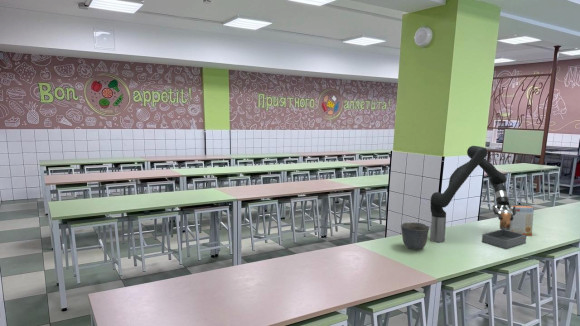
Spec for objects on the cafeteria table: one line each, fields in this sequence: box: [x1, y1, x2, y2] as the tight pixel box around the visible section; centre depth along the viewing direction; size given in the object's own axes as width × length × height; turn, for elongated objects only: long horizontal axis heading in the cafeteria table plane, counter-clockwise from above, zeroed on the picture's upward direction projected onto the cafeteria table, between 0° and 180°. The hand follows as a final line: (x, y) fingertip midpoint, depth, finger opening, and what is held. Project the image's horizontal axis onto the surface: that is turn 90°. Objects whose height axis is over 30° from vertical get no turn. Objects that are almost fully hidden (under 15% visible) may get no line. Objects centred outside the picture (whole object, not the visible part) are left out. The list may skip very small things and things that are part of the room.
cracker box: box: [508, 205, 534, 237], centre depth 258 cm, size 14×6×21 cm, turn 84°
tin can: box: [499, 209, 511, 230], centre depth 240 cm, size 6×6×13 cm
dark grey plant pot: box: [400, 222, 431, 250], centre depth 229 cm, size 18×18×15 cm
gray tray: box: [481, 229, 527, 250], centre depth 241 cm, size 24×16×6 cm, turn 120°
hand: (506, 219), depth 238 cm, fingers closed on tin can, 6 cm apart
